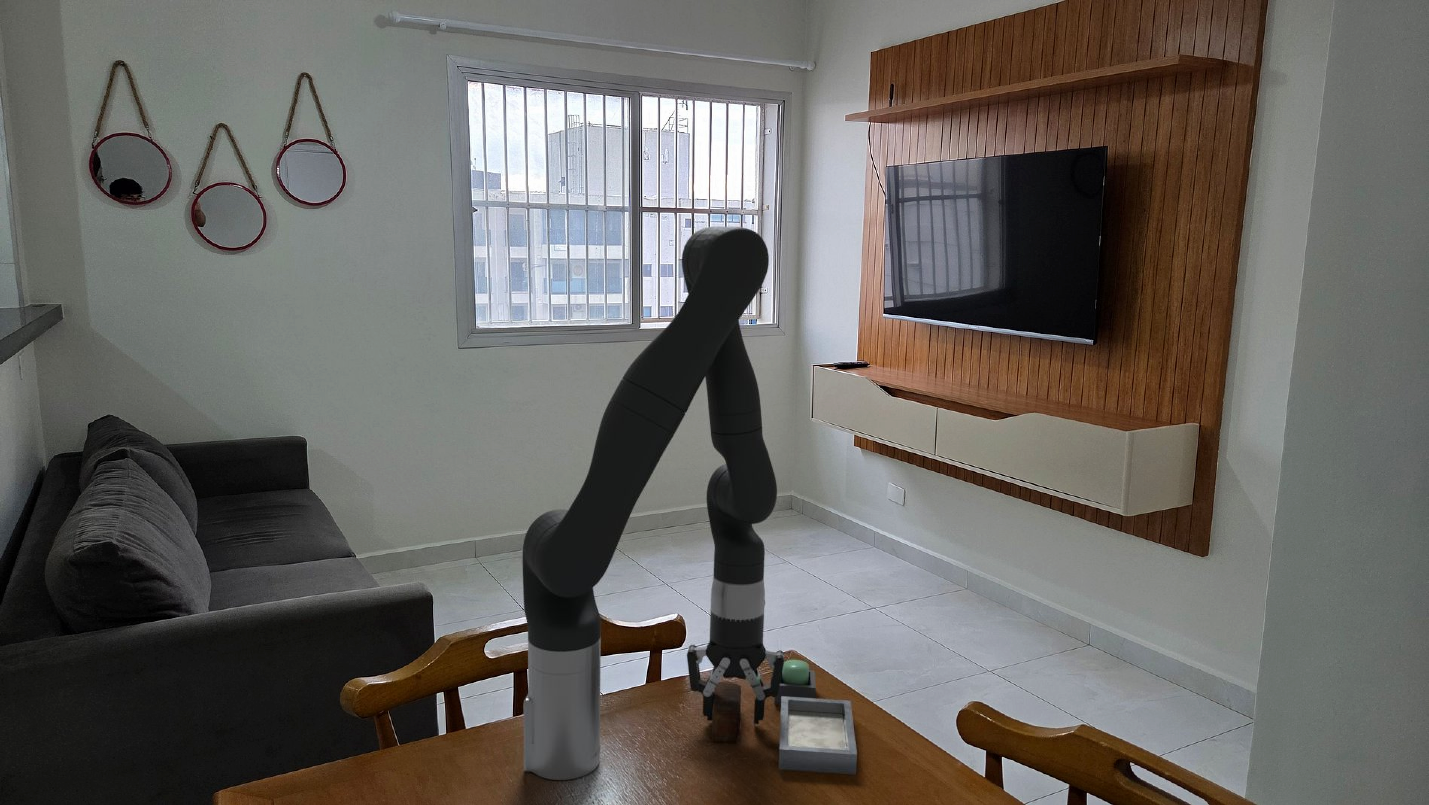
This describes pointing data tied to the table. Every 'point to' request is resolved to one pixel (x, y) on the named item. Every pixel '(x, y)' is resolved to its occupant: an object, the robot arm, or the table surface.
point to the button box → (797, 689)
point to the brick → (726, 712)
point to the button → (795, 672)
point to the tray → (817, 735)
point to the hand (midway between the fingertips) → (733, 719)
